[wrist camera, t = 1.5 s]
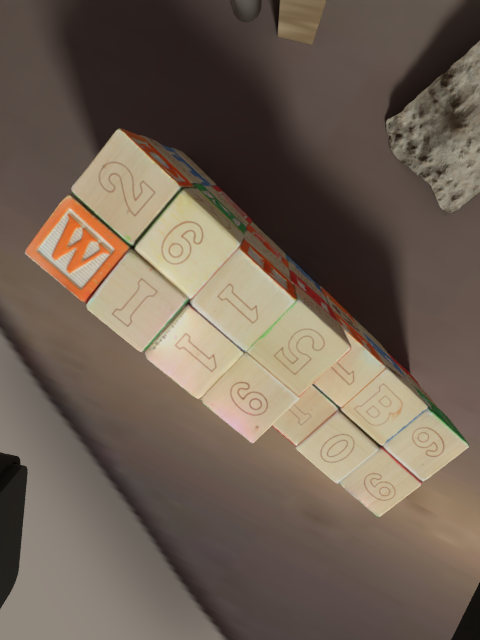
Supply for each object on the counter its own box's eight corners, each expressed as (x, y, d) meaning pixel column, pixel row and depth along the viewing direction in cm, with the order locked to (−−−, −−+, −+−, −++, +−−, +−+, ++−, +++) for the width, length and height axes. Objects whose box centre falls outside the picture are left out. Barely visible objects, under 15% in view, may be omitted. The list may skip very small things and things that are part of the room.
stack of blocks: (413, 372, 31) (504, 488, 19) (346, 430, 32) (392, 569, 21) (180, 148, 28) (115, 121, 16) (118, 224, 29) (16, 251, 17)
